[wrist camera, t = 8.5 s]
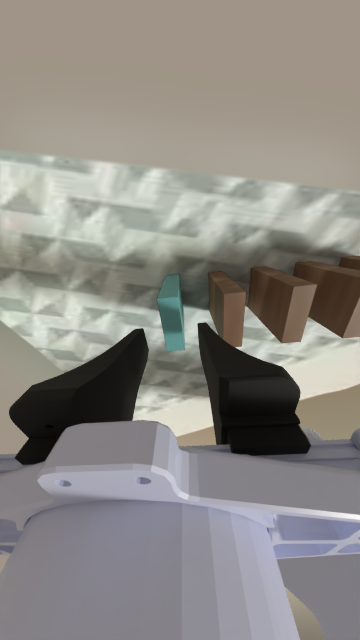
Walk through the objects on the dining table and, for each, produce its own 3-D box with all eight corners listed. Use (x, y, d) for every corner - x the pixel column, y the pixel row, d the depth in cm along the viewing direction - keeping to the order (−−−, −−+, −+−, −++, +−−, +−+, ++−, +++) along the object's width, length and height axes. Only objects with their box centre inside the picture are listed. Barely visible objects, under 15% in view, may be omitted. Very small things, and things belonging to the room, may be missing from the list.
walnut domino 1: (221, 271, 19) (246, 291, 12) (221, 309, 21) (241, 346, 14) (208, 272, 19) (224, 294, 12) (209, 310, 21) (223, 347, 14)
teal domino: (179, 274, 19) (177, 296, 12) (183, 312, 21) (184, 349, 14) (166, 275, 19) (157, 298, 12) (171, 313, 21) (167, 351, 14)
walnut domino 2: (265, 266, 19) (317, 284, 11) (260, 305, 21) (300, 341, 14) (251, 267, 19) (294, 286, 12) (247, 307, 21) (281, 343, 14)
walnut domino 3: (310, 261, 18) (392, 276, 11) (300, 301, 21) (362, 336, 13) (295, 262, 18) (367, 279, 11) (287, 303, 21) (342, 338, 14)
